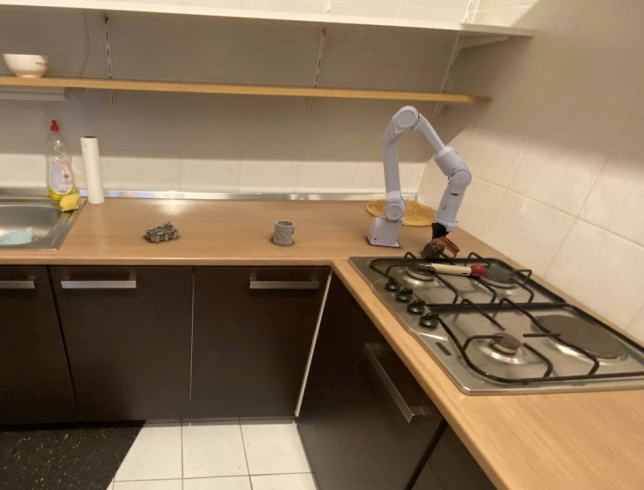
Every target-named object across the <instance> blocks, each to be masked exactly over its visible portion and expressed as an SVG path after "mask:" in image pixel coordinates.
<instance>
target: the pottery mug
mask: <svg viewBox="0 0 644 490" xmlns="http://www.w3.org/2000/svg"><path fill="white" fill-rule="evenodd" d="M435 244H436V245H435ZM445 250H447V251H449V252H450V253H451V254H453V257H452V259H453V258H455V259H457V256H458V253H459V252H460V251H461V250H460V248H459V247H458V245H456V243H454V242H453V241H452V240H451V239H449V238H448V237H447V236H441V237H440V238H436V239H433V240H432V239H431V240H430V241H429V242H428V243H427V244H425V246H424V247H423V249H422V251H421V256H423V258H424V259H427V258H428V257H429V259H432V258H435V257H436V256H437V255H438V254H439V253H441V254H443V253H444V252H445Z"/></svg>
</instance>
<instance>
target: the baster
mask: <svg viewBox="0 0 644 490" xmlns="http://www.w3.org/2000/svg"><path fill="white" fill-rule="evenodd" d="M419 265H422V264H419ZM424 265H425V266H431V267H434V268H435V269H436V270H437V271H435V272H434V273H437V274H448V275H456V276H464V277H465V276H467V277H469V276H471V277H473V278H481V276H475V275H472V274H478V275H481V274H483V275H484V274H485V272H486V269H485V266H483V265H482V264H480V263H474V264H472V265H470V266H460V265H451V264H441V263H432V262H431V263H429V264H424ZM462 273H469V274H462Z"/></svg>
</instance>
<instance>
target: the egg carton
mask: <svg viewBox="0 0 644 490" xmlns="http://www.w3.org/2000/svg"><path fill="white" fill-rule="evenodd" d="M144 231H145V234H146V235H145V238H146V239H150V242H153V243H154V242H155V243H159V242H160V241H168V240H169V239H173V240H175V239H177V237H178V235H179V234H178V232H179V231H180V230H179V228H176V227H174V225H173V224H172V222H171V221H166V222H163V223H162V224H161V225H157V226H153V227H150V228H149V229H148V228H145V229H144Z"/></svg>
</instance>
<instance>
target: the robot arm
mask: <svg viewBox="0 0 644 490" xmlns="http://www.w3.org/2000/svg"><path fill="white" fill-rule="evenodd" d="M410 130H411V132H413V133H416V134H418V135H420V136H421V137H422V138H423V139H424V141H425V142H426V144H427V145H428V146H429V147H430V149H431V150H432V151H433V153H434V156H433V161H434V163H435V164H436V166H437V167H438V168H439V169H440V170H441V172H442V174H443V175H444V176H446V177H447V180H448V182H447V184H446V187H445V190H444V191H443V194H442V197H441V199H440V202H439V205H438V208H437V211H435V212H433V215H432V219H433V221H434V222H431V224H430V226H431V240H433V239H436V238H440V237H441V236H445V237H447V236H448V234H450V233H454V232H455V230H456V227H457V226H456V224H458V223H459V220H458V219H457V218H456V217H457V215H458V212H459V210H460V208H461V206H462V205H461V204H462V203H463V200H464V197H465V194H466V190H467V187H468V186H470V185H471V183H472V182H473V180H472V178H473V174H472V172H471V171H470V170H469V167H468V163H466V162H464V161H463V160H462V159H461V157H460V156H459V153H460V152H459V151H458V149H457V148H453V146H446V145H445V144H444V143H443V141H442V139H441V138H440V137H439V134H438V133H437V132H436V130H435V129H434V128H433V126H432V125H431V123H430V121H429V120H428V119H426V117H424V115H422V114H421V112H418V110H417V108H416V107H414V106H413V105H406V106H402V107H401V108H400V109H398V111H397V112H396V113H395V114H394V115H393V116H392V118H391V119H390V120H389V123H388V125H387V127H386V129H385V131H384V132H383V134H382V136H381V138H380V139H381V140H380V144H381V154H382V163H383V164H382V165H383V166H382V167H383V175H384V187H385V205H384V210H383V213H381V214H380V216H374V217H372V219H371V222H370V227H369V231H368V235H367V236H366V237H367V239H368V241H369V244H371V245H374V246H382V247H383V246H384V247H393V248H400V244H399V243H398V242H397V241H398V238H399V235H400V233H401V232H400V231H401V228H402V225H403V222H404V216H405V214H406V201H405V199H404V198H403V195H402V186H401V174H400V162H399V149H398V148H399V147H398V141H399V140H400V138H401V137H402V136H403V135H404V133H406V132H408V131H410ZM435 245H436V244H435ZM435 245H434V246H435Z"/></svg>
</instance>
